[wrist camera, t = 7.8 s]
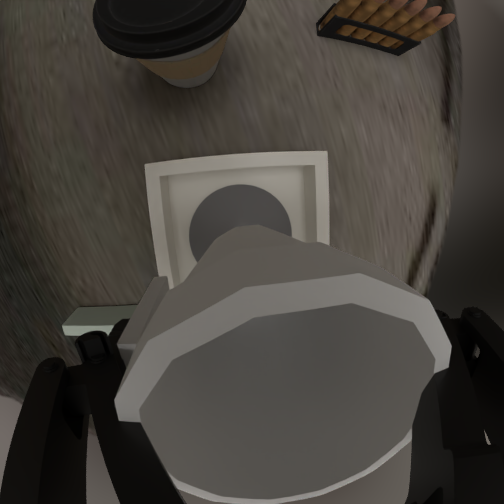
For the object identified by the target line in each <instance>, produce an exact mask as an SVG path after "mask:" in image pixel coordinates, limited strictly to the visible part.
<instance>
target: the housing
mask: <svg viewBox="0 0 504 504" xmlns="http://www.w3.org/2000/svg"><path fill="white" fill-rule="evenodd" d="M144 165H145V177H146V187H147V197H148V206H149V214H150V222H151V229H152V237H153V243H154V250H155V256H156V262H157V268H158V274H159V277H160V276H167V278H168V283H169V289H172V288H174V287H176V286H177V285H179V284H181V283H182V282H184V281H185V279H186V278H187V276H188V275H189V274H190V272H191V271H192V270H193V268H194V267H195V266H196V264H197V263H198V262H199V260H200V259H201V258H202V256H203V255H204V254H205V252H206V251H207V250H208V248H209V247H210V246H211V244H212V243H213V242H214V240H215V239H216V238H218V237H219V236H221V235H223V234H224V233H226V232H228V231H230V230H231V229H233V228H235V227H239V226H249V225H261V226H264V227H267V228H269V229H272V230H275V231H277V232H280V233H283V234H285V235H288V236H290V237H293V238H295V239H298V240H300V241H303V242H305V243H313V242H322V243H324V244H327V245H329V178H328V156H327V151H289V152H262V153H244V154H229V155H217V156H206V157H196V158H187V159H179V160H171V161H163V162H156V163H149V164H144Z"/></svg>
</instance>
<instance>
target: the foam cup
mask: <svg viewBox="0 0 504 504" xmlns="http://www.w3.org/2000/svg"><path fill="white" fill-rule="evenodd" d="M451 347H452V345H451V343H450V341H449V339H448V337H447V335H446V332H445V330H444V328H443V326H442V324H441V322H440V320H439V318H438V316H437V314H436V312H435V310H434V308H433V306H432V304H431V302H430V301H429V300H428V299H427V298H425V297H424V296H423V295H421V294H420V293H418V292H417V291H416V290H414V289H413V288H411V287H410V286H408V285H407V284H405V283H404V282H403V281H401V280H400V279H398V278H397V277H395V276H394V275H392V274H391V273H389V272H388V271H386V270H385V269H383V268H382V267H380V266H378V265H375V264H373V263H371V262H368V261H366V260H363V259H361V258H359V257H356V256H354V255H351V254H349V253H346V252H344V251H341V250H339V249H337V248H334V247H332V246H329V245H327V244H324V243H322V242H313V243H305V242H303V241H300V240H298V239H295V238H293V237H290V236H288V235H285V234H283V233H280V232H277V231H275V230H272V229H269V228H267V227H264V226H261V225H249V226H239V227H235V228H233V229H231V230H230V231H228V232H226V233H224V234H223V235H221V236H219V237H218V238H216V239H215V240H214V242H213V243H212V244H211V246H210V247H209V248H208V250H207V251H206V252H205V254H204V255H203V256H202V258H201V259H200V260H199V262H198V263H197V264H196V266H195V267H194V268H193V270H192V271H191V272H190V274H189V275H188V276H187V278H186V279H185V281H184V282H182V283H181V284H179V285H177V286H176V287H174V288H172V289H170V290H169V291H167V293H166V295H165V296H164V298H163V300H162V301H161V303H160V305H159V306H158V308H157V310H156V312H155V313H154V315H153V317H152V318H151V320H150V322H149V324H148V325H147V327H146V329H145V331H144V332H143V334H142V336H141V338H140V339H139V341H138V343H137V345H136V347H135V349H134V352H133V354H132V356H131V359H130V361H129V364H128V366H127V369H126V371H125V374H124V376H123V379H122V381H121V384H120V387H119V389H118V392H117V394H116V397H115V400H114V401H115V406H116V411H117V415H118V420H119V421H128V422H141V424H142V426H143V428H144V430H145V432H146V434H147V436H148V437H149V439H150V441H151V443H152V445H153V447H154V449H155V451H156V453H157V454H158V456H159V458H160V460H161V462H162V463H163V465H164V467H165V469H166V470H167V472H168V474H169V476H170V477H171V479H172V481H173V483H174V484H175V486H176V488H177V489H180V490H182V491H185V492H187V493H190V494H193V495H195V496H198V497H201V498H204V499H207V500H210V501H215V502H224V503H235V504H278V503H284V502H290V501H296V500H301V499H306V498H310V497H315V496H319V495H323V494H325V493H328V492H330V491H333V490H335V489H337V488H340V487H342V486H344V485H346V484H348V483H351V482H353V481H355V480H357V479H359V478H361V477H363V476H365V475H367V474H369V473H371V472H372V471H374V470H375V469H377V468H378V467H379V466H381V465H382V464H383V463H385V462H386V461H387V460H388V459H390V458H391V457H392V456H393V455H395V454H396V453H397V452H398V451H399V450H400V449H402V448H403V447H404V446H405V445H406V444H408V443H409V442H410V441H411V440H412V424H413V421H414V418H415V414H416V411H417V408H418V404H419V400H420V397H421V393H422V391H423V390H424V388H425V387H426V385H427V384H428V383H429V381H430V380H431V378H432V377H433V375H434V373H436V372H439V371H441V370H444V369H446V368H448V367H449V361H450V354H451Z"/></svg>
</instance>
